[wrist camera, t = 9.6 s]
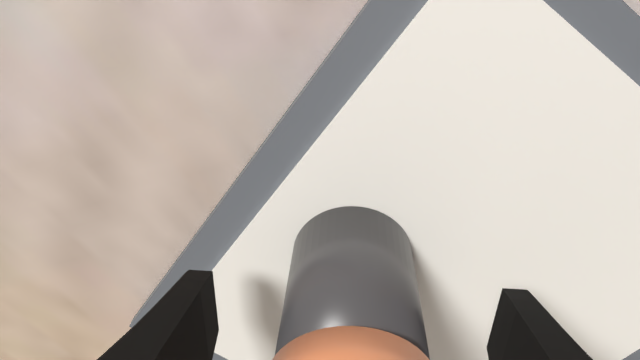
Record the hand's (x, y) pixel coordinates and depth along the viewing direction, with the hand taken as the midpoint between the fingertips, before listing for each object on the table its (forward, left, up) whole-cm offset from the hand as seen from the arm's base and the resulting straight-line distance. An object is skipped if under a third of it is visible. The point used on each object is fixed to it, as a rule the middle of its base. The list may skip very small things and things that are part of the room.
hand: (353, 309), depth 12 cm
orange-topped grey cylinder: (0, 0, -2) cm, 2 cm away
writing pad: (-3, -1, -3) cm, 4 cm away
